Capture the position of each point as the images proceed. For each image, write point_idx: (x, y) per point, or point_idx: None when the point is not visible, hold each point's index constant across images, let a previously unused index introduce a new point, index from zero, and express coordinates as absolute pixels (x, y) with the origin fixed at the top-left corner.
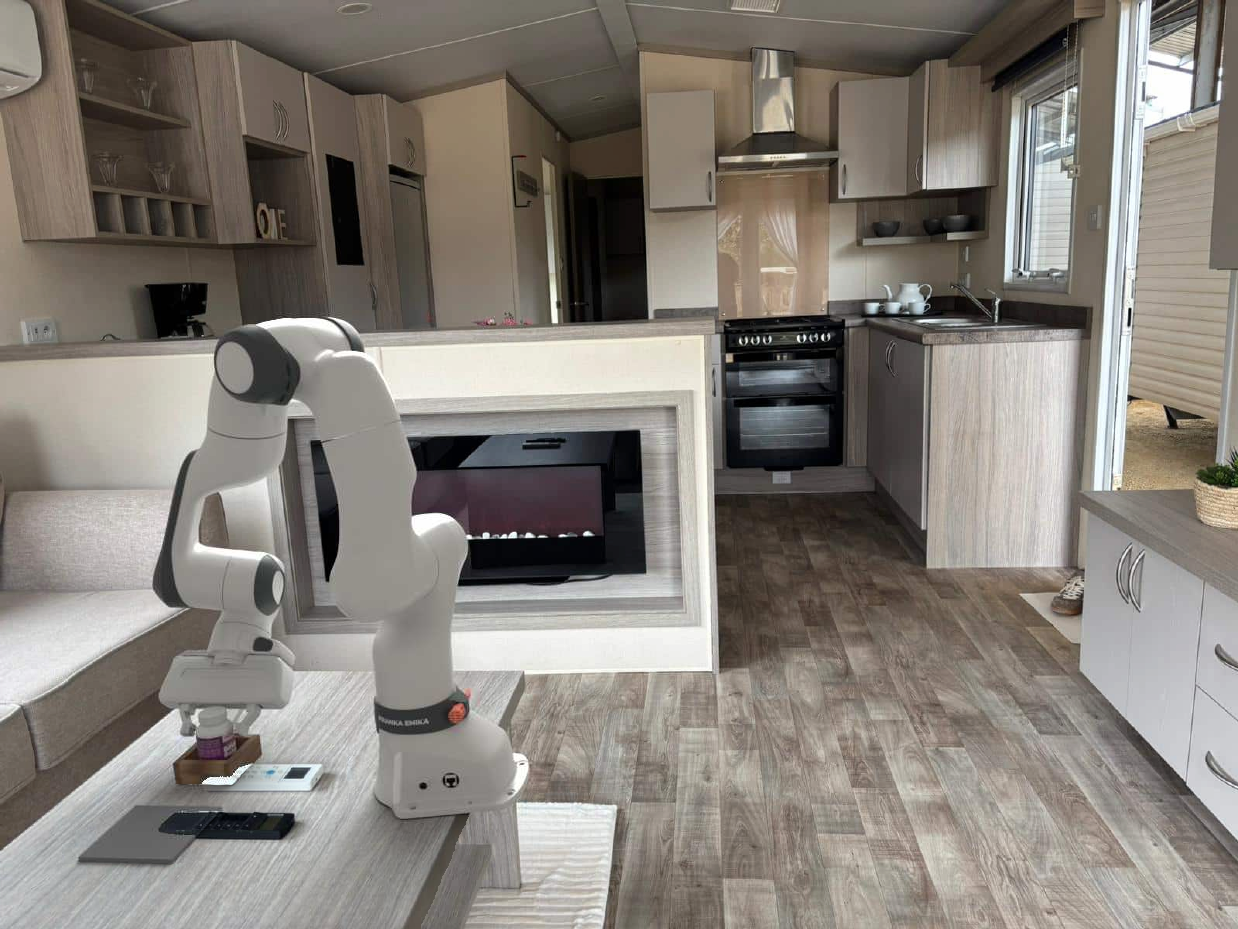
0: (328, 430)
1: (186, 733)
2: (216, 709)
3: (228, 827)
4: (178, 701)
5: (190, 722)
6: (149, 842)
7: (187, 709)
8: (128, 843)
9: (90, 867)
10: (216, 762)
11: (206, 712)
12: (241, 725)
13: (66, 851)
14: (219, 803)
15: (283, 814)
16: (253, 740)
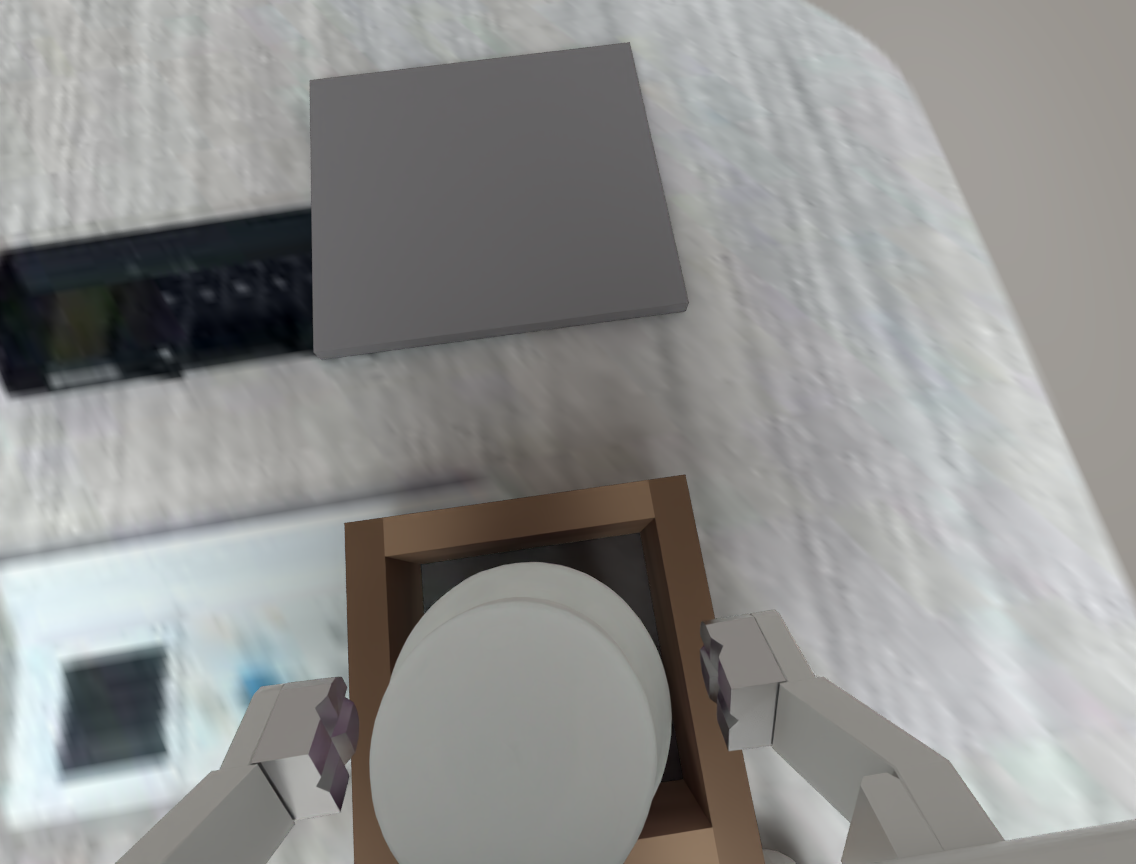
0: None
1: (722, 619)
2: (490, 812)
3: (235, 275)
4: (1057, 840)
5: (741, 686)
6: (448, 132)
7: (870, 793)
8: (519, 117)
9: (567, 43)
10: (433, 526)
11: (556, 714)
12: (252, 742)
13: (716, 85)
14: (364, 404)
15: (51, 381)
16: (354, 839)
